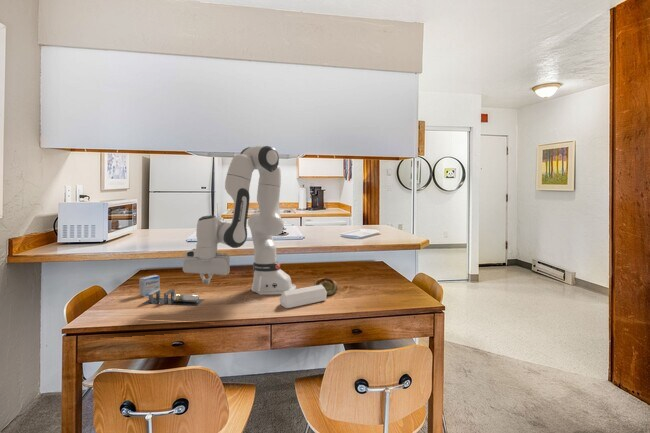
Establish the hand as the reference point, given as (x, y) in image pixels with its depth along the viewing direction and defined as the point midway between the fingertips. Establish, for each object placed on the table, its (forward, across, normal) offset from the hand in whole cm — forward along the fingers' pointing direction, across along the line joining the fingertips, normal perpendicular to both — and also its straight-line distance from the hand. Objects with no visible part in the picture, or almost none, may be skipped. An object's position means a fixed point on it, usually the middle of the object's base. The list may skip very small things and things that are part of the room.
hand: (206, 283), depth 158 cm
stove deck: (+10, +15, -1) cm, 18 cm away
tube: (+9, +10, -1) cm, 13 cm away
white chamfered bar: (+9, -43, -7) cm, 44 cm away
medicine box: (+10, +32, -11) cm, 36 cm away
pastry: (+8, -52, -24) cm, 58 cm away
